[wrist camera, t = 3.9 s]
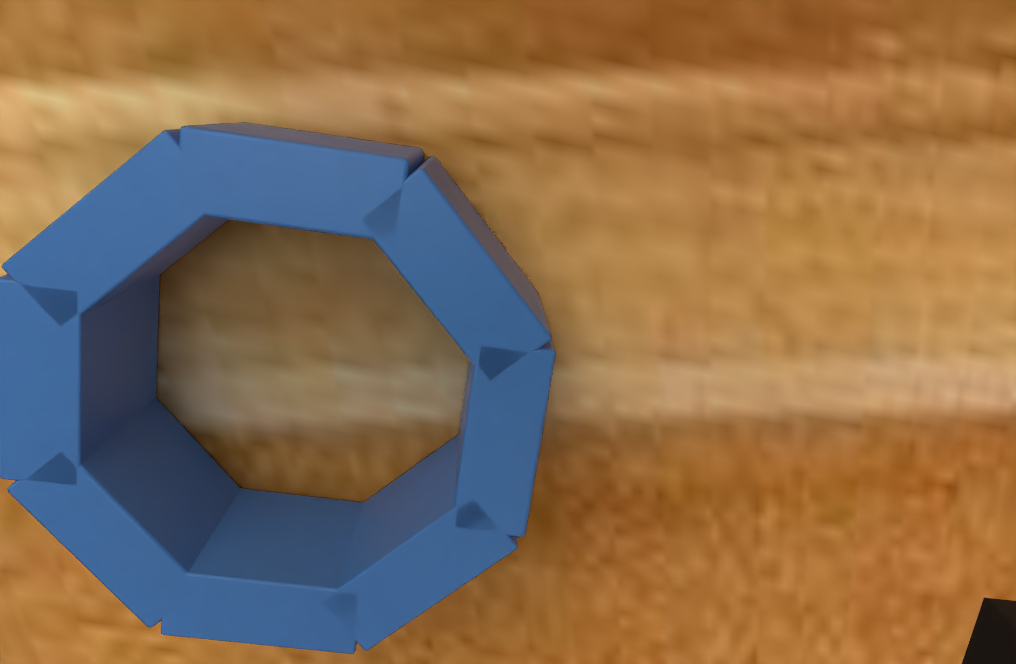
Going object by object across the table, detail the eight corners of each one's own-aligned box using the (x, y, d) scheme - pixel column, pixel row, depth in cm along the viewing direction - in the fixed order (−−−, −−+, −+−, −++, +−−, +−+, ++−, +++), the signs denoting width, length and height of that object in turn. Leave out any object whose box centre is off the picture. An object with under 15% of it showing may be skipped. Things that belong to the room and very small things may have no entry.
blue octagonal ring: (564, 168, 19) (584, 184, 15) (499, 570, 22) (503, 670, 18) (93, 99, 18) (-11, 97, 14) (89, 525, 21) (2, 619, 17)
